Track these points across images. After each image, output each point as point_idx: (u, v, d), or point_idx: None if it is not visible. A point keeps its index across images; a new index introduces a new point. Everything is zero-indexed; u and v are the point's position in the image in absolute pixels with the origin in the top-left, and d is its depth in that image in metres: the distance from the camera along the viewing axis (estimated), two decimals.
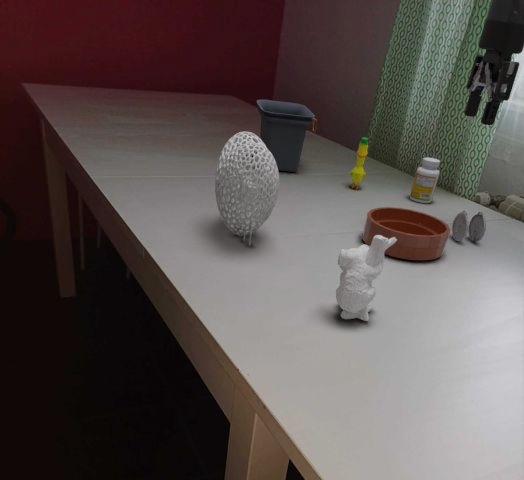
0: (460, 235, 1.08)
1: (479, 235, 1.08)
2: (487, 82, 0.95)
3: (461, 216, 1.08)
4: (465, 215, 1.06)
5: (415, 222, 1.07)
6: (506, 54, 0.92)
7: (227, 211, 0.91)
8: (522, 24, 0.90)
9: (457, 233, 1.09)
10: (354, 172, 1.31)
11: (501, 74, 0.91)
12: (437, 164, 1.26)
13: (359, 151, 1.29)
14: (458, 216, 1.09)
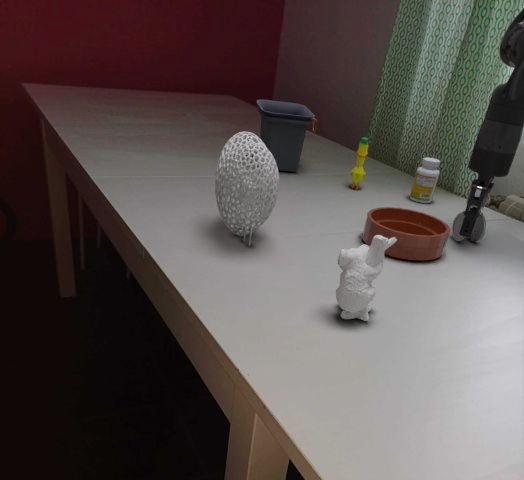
0: (460, 235, 1.08)
1: (479, 235, 1.08)
2: None
3: (461, 216, 1.08)
4: None
5: (415, 222, 1.07)
6: (482, 177, 1.00)
7: (227, 211, 0.91)
8: (498, 153, 0.97)
9: (457, 233, 1.09)
10: (354, 172, 1.31)
11: (470, 196, 1.00)
12: (437, 164, 1.26)
13: (359, 151, 1.29)
14: (458, 216, 1.09)
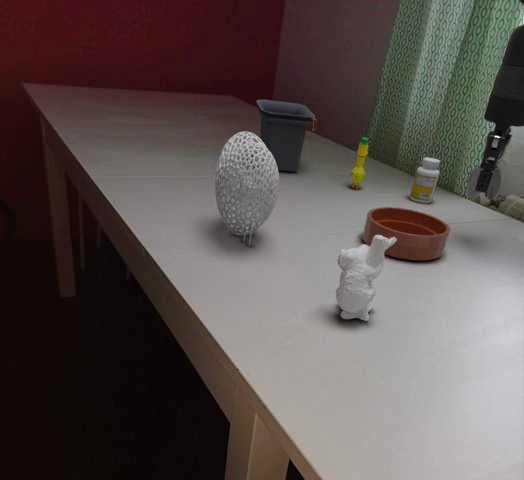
0: (476, 191, 1.04)
1: (496, 191, 1.04)
2: None
3: (476, 171, 1.03)
4: None
5: (415, 222, 1.07)
6: (500, 126, 0.95)
7: (227, 211, 0.91)
8: (516, 99, 0.93)
9: (472, 190, 1.05)
10: (354, 172, 1.31)
11: (486, 146, 0.95)
12: (437, 164, 1.26)
13: (359, 151, 1.29)
14: (473, 172, 1.04)
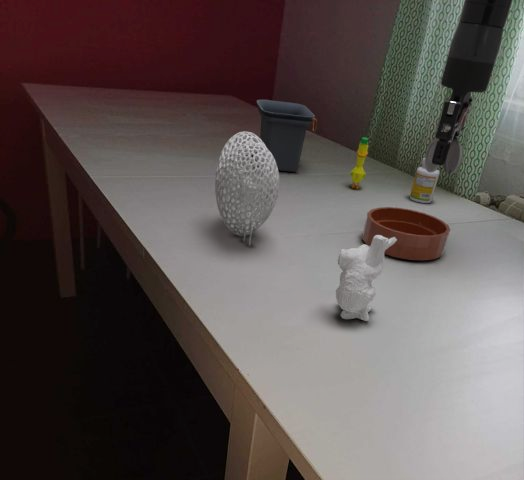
0: (433, 165, 0.96)
1: (455, 165, 0.96)
2: None
3: (434, 143, 0.95)
4: None
5: (415, 222, 1.07)
6: (457, 92, 0.88)
7: (227, 211, 0.91)
8: (473, 61, 0.85)
9: (430, 163, 0.97)
10: (354, 172, 1.31)
11: (442, 113, 0.88)
12: None
13: (359, 151, 1.29)
14: (431, 144, 0.96)
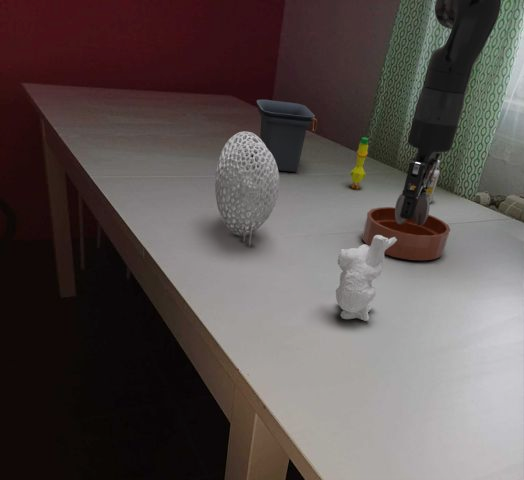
0: (402, 218, 0.99)
1: (423, 218, 0.99)
2: None
3: (403, 197, 0.99)
4: None
5: None
6: (422, 152, 0.91)
7: (227, 211, 0.91)
8: (437, 124, 0.88)
9: (399, 216, 1.00)
10: (354, 172, 1.31)
11: (408, 173, 0.91)
12: (437, 164, 1.26)
13: (359, 151, 1.29)
14: (400, 197, 1.00)
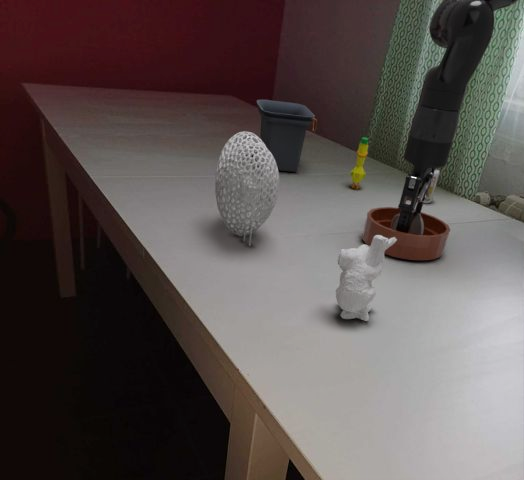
0: None
1: None
2: None
3: (398, 218, 1.01)
4: None
5: None
6: (417, 168, 0.92)
7: (227, 211, 0.91)
8: (432, 142, 0.90)
9: None
10: (354, 172, 1.31)
11: (404, 187, 0.92)
12: None
13: (359, 151, 1.29)
14: (395, 217, 1.02)
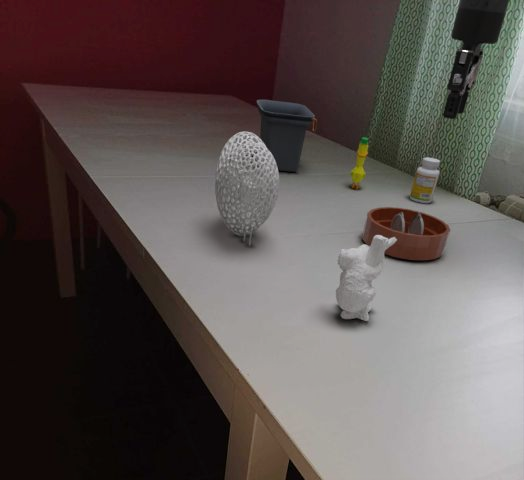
0: None
1: None
2: None
3: (398, 218, 1.01)
4: (401, 216, 0.99)
5: None
6: (468, 43, 0.87)
7: (227, 211, 0.91)
8: (485, 11, 0.84)
9: None
10: (354, 172, 1.31)
11: (454, 63, 0.87)
12: (437, 164, 1.26)
13: (359, 151, 1.29)
14: (395, 217, 1.02)
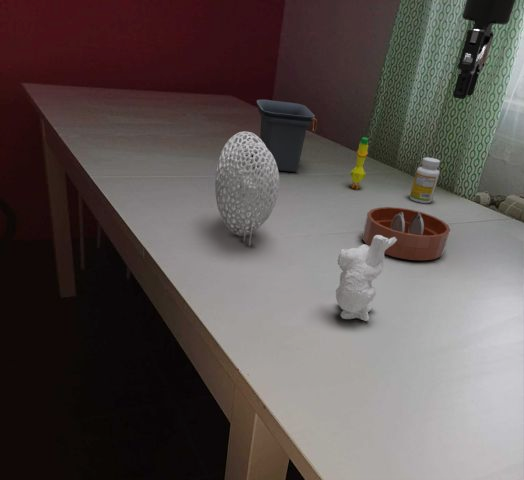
0: None
1: None
2: (462, 53, 0.91)
3: (398, 218, 1.01)
4: (401, 216, 0.99)
5: None
6: (479, 23, 0.88)
7: (227, 211, 0.91)
8: None
9: None
10: (354, 172, 1.31)
11: (465, 42, 0.87)
12: (437, 164, 1.26)
13: (359, 151, 1.29)
14: (395, 217, 1.02)
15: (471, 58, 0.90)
